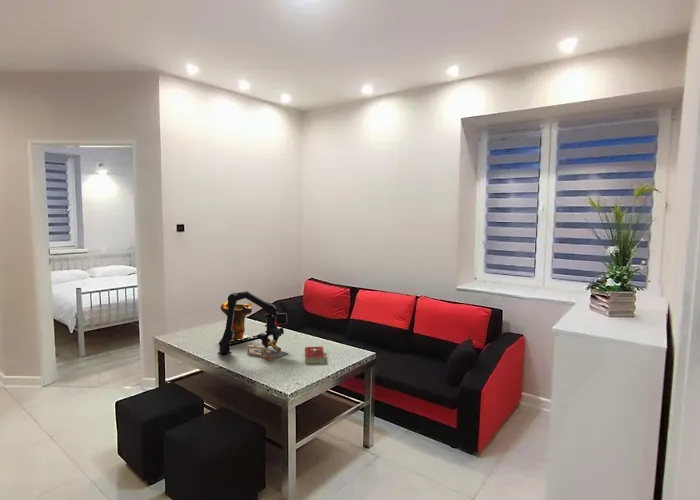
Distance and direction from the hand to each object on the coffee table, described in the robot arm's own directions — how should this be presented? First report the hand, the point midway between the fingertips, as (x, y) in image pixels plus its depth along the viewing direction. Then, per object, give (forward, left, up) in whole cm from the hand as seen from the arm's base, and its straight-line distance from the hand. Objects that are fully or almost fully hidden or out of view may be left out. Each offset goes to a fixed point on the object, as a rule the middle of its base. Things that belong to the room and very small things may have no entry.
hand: (270, 346), depth 267 cm
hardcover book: (+28, +11, -5) cm, 31 cm away
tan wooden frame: (0, -9, -4) cm, 10 cm away
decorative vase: (-42, +6, -4) cm, 43 cm away
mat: (0, 0, -4) cm, 4 cm away
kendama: (+1, 0, -1) cm, 2 cm away
